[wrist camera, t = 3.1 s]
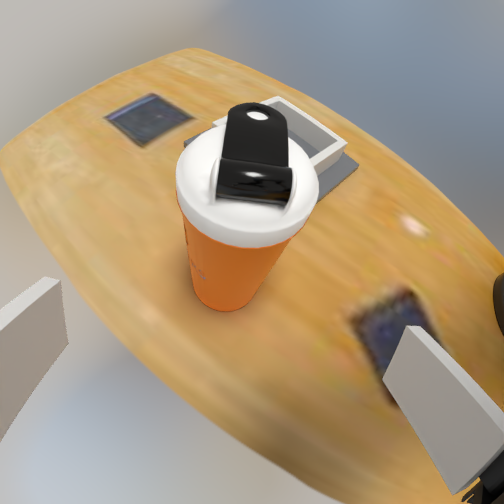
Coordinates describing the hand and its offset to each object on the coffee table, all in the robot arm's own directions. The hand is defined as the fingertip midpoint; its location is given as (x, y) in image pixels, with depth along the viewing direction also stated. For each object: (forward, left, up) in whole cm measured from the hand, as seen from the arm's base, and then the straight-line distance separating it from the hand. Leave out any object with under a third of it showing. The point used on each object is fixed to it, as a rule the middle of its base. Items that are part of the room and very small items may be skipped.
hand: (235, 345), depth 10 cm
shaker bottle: (+7, -8, -20) cm, 23 cm away
